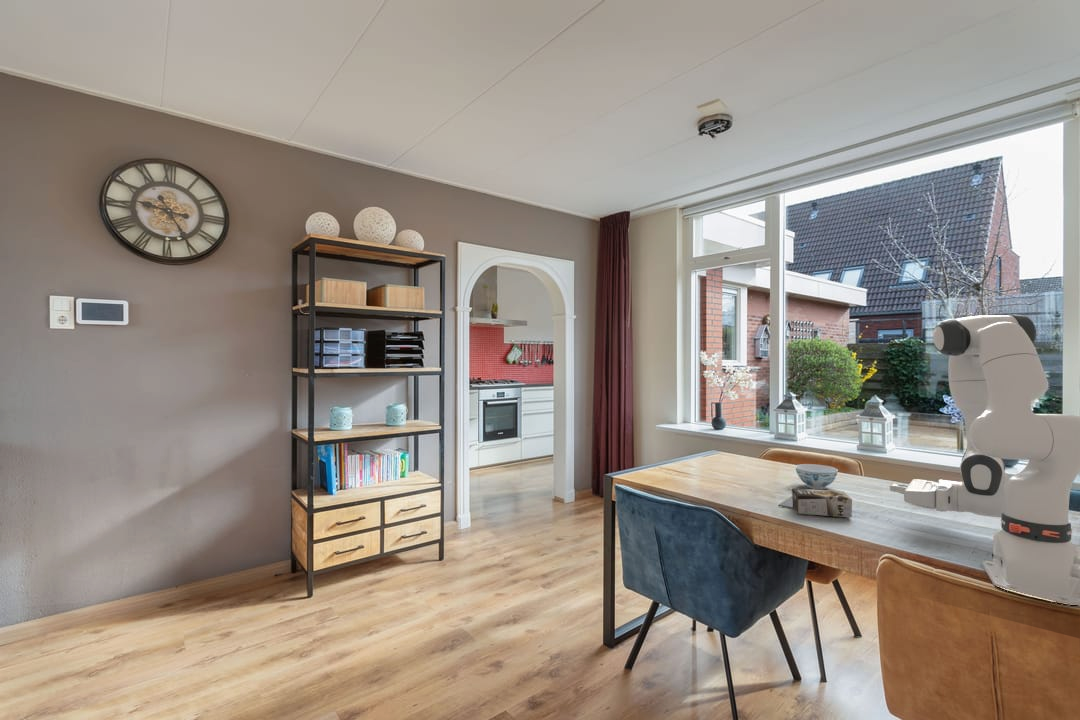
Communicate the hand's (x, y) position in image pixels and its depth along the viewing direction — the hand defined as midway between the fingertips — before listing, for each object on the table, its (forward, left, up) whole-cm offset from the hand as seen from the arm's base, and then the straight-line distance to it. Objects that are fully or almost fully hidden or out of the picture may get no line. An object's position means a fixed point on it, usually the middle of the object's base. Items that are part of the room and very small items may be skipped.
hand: (890, 487), depth 162 cm
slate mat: (0, +24, -11) cm, 26 cm away
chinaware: (+30, +30, -11) cm, 44 cm away
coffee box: (-2, +11, -7) cm, 14 cm away
